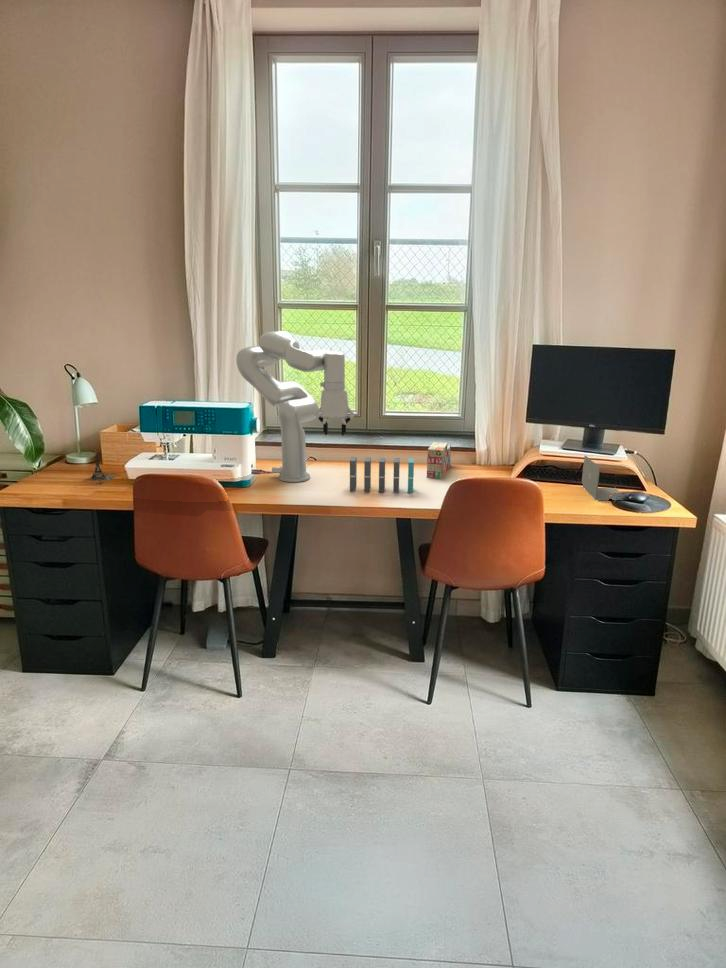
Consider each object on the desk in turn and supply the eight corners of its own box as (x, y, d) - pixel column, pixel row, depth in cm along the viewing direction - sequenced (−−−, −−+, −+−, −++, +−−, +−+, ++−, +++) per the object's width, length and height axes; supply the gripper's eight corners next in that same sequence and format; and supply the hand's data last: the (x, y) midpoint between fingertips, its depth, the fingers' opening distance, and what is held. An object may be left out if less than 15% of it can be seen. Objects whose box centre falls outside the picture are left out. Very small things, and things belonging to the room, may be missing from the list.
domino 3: (378, 492, 251) (379, 461, 247) (379, 487, 256) (380, 457, 253) (384, 492, 250) (384, 461, 247) (384, 487, 256) (385, 457, 253)
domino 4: (393, 492, 250) (393, 462, 247) (393, 488, 256) (394, 458, 252) (398, 492, 250) (399, 462, 246) (399, 488, 256) (399, 458, 252)
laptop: (629, 502, 242) (634, 467, 239) (595, 501, 243) (599, 467, 239) (612, 487, 260) (616, 455, 256) (580, 486, 260) (584, 454, 256)
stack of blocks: (436, 464, 289) (437, 436, 286) (450, 465, 288) (451, 438, 284) (426, 477, 270) (427, 448, 266) (441, 479, 268) (443, 449, 264)
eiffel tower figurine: (99, 486, 257) (96, 453, 253) (77, 484, 260) (72, 451, 256) (121, 475, 271) (118, 444, 267) (100, 473, 273) (96, 442, 270)
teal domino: (413, 488, 255) (414, 458, 252) (413, 493, 250) (413, 462, 246) (407, 488, 255) (408, 458, 252) (407, 493, 250) (408, 462, 246)
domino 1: (349, 491, 251) (349, 460, 248) (351, 486, 257) (351, 456, 254) (355, 491, 251) (355, 461, 248) (356, 486, 257) (356, 456, 253)
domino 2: (364, 491, 251) (364, 461, 247) (365, 487, 257) (365, 457, 253) (369, 492, 251) (369, 461, 247) (370, 487, 257) (371, 457, 253)
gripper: (309, 387, 240) (310, 436, 246) (356, 388, 239) (356, 437, 244) (312, 384, 247) (313, 431, 253) (358, 385, 246) (358, 432, 251)
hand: (334, 433), depth 248 cm, fingers open, 5 cm apart
